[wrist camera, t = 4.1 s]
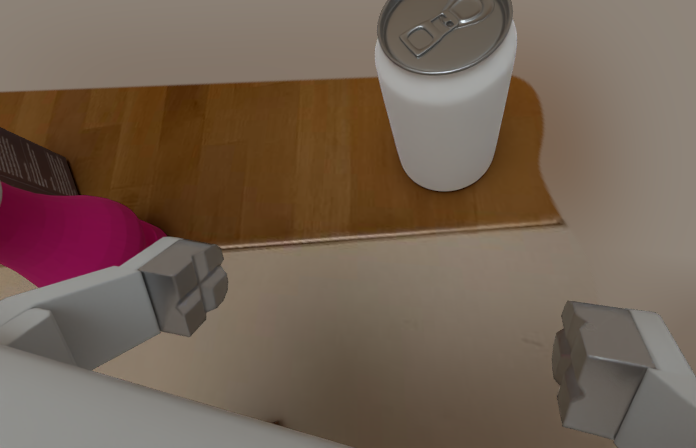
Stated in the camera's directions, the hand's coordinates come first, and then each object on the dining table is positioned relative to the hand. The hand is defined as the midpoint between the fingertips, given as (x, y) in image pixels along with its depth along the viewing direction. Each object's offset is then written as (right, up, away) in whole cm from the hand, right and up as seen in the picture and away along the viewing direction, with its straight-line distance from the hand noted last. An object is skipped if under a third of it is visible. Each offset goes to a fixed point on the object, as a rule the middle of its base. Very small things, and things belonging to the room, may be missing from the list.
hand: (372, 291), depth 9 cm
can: (+6, +7, +19) cm, 21 cm away
